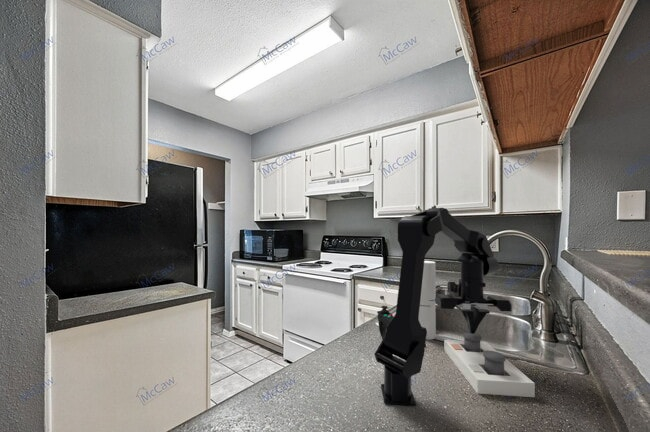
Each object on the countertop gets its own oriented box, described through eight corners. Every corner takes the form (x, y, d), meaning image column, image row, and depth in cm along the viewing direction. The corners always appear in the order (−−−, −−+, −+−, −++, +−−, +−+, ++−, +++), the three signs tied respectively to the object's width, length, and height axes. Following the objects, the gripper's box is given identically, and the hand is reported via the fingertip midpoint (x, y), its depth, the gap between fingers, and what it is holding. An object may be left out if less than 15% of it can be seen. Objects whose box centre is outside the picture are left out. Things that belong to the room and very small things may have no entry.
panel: (534, 397, 61) (534, 382, 61) (477, 393, 62) (477, 378, 62) (485, 352, 83) (485, 341, 83) (444, 349, 84) (444, 339, 84)
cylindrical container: (440, 337, 93) (440, 262, 94) (423, 340, 91) (423, 263, 91) (425, 330, 100) (425, 260, 101) (408, 332, 97) (409, 260, 98)
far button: (484, 355, 76) (484, 339, 76) (467, 354, 76) (467, 338, 77) (477, 348, 81) (476, 332, 81) (460, 347, 81) (460, 332, 81)
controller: (387, 333, 97) (387, 303, 97) (402, 348, 85) (402, 315, 85) (375, 333, 96) (375, 304, 97) (388, 349, 84) (388, 315, 84)
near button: (509, 380, 64) (509, 360, 64) (488, 378, 64) (488, 358, 65) (499, 369, 69) (499, 351, 69) (479, 368, 69) (479, 350, 69)
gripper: (491, 273, 86) (492, 324, 86) (429, 271, 88) (429, 321, 88) (512, 280, 75) (513, 339, 75) (441, 278, 77) (441, 335, 76)
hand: (472, 333), depth 79 cm, fingers closed
